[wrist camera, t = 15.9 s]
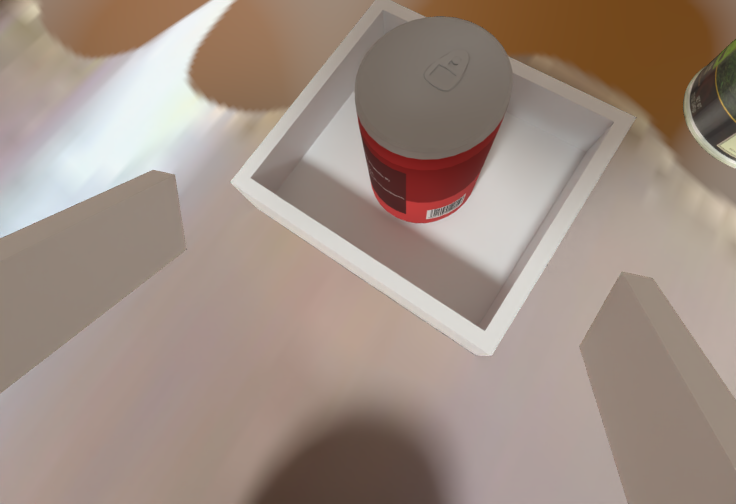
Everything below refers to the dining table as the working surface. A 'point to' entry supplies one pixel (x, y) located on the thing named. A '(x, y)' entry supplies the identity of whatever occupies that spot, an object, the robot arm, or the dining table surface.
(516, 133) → the tray
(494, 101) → the canned food
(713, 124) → the coffee can
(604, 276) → the dining table surface
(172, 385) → the dining table surface
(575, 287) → the dining table surface
